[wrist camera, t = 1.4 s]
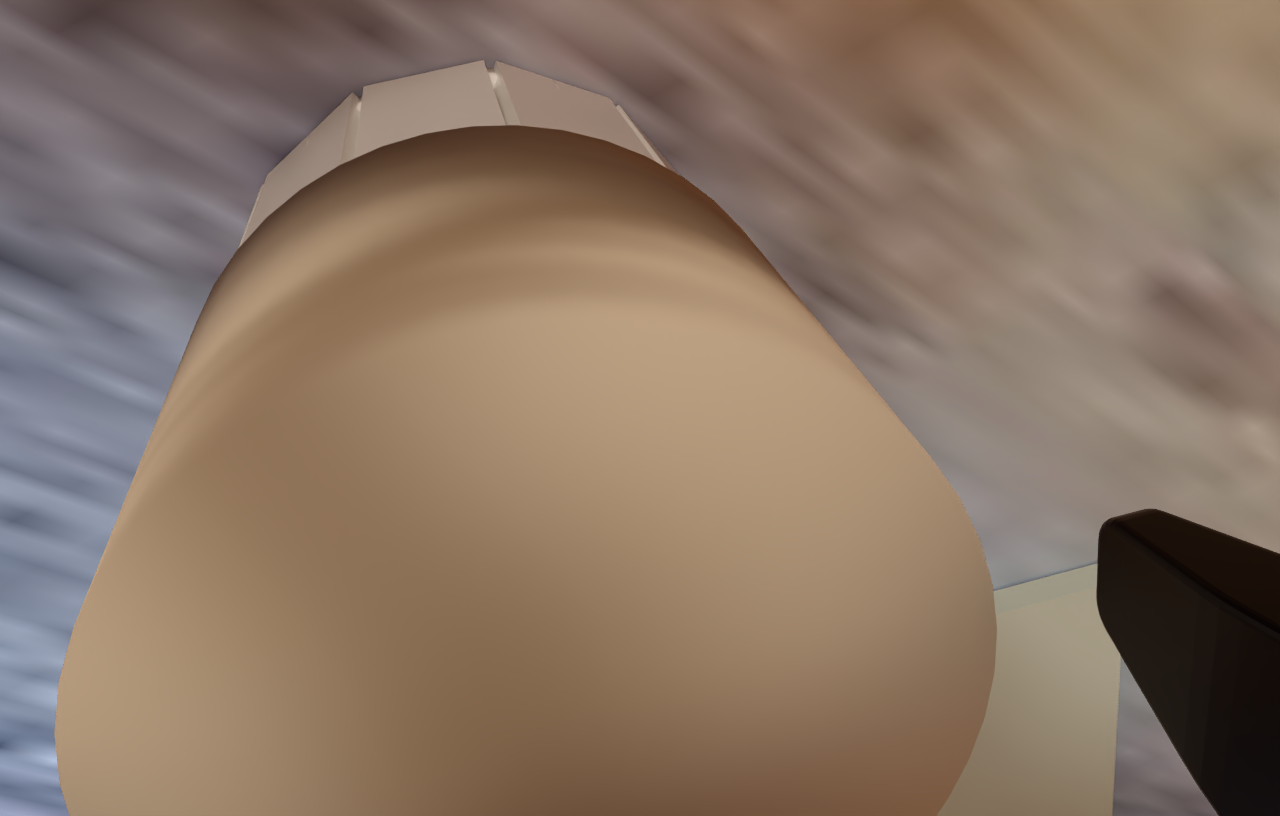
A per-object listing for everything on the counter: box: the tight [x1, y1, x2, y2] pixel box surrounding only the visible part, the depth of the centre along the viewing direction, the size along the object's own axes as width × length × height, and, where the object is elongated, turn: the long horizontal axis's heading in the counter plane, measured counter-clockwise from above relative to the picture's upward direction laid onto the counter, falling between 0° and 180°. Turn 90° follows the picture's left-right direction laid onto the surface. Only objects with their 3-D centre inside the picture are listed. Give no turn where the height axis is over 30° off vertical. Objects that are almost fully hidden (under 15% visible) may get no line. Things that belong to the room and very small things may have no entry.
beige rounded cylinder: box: [55, 125, 997, 816], centre depth 11 cm, size 7×7×5 cm
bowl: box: [238, 60, 678, 248], centre depth 15 cm, size 7×7×4 cm
